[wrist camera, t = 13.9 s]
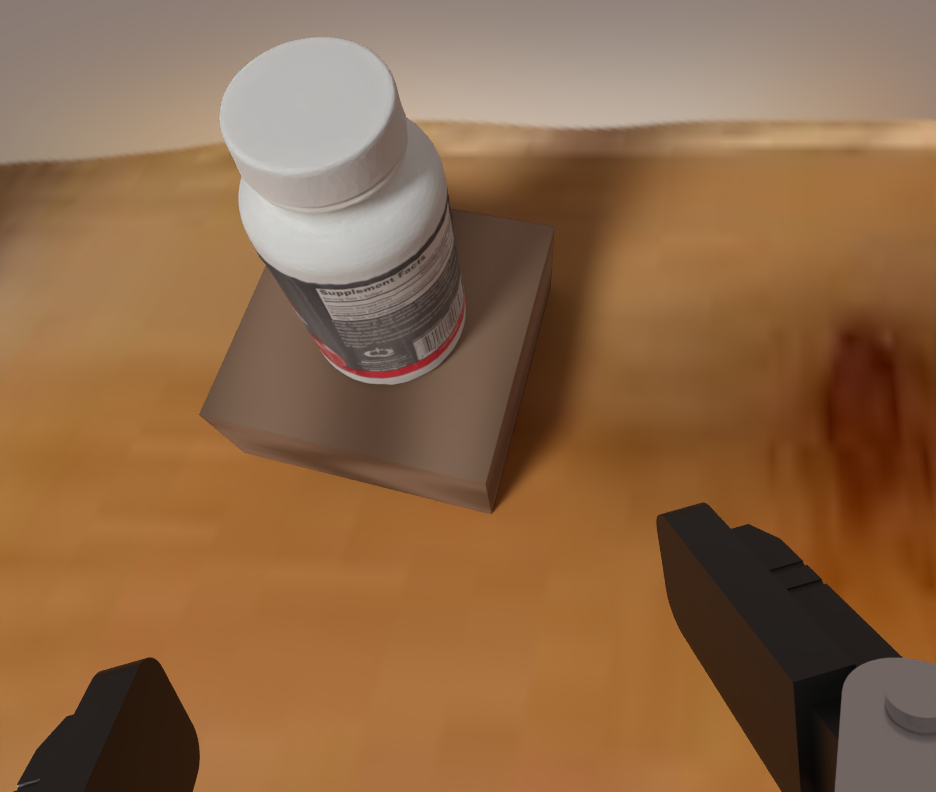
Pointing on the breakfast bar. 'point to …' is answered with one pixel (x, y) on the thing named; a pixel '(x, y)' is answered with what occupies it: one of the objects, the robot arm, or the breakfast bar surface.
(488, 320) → the walnut base
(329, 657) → the breakfast bar surface
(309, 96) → the pill bottle
